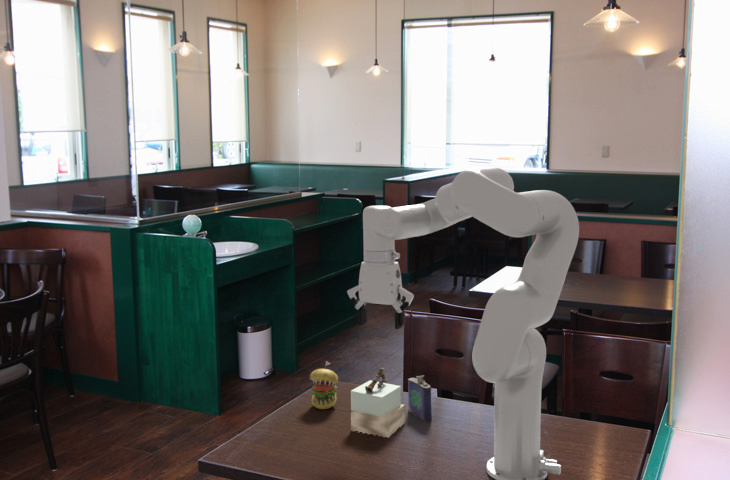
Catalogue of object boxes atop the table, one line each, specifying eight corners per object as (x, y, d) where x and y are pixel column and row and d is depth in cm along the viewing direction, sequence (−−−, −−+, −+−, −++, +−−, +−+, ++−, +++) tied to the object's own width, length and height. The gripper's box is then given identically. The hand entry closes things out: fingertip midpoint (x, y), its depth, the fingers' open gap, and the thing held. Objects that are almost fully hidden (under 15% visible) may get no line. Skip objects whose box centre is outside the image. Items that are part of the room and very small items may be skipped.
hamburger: (306, 409, 185) (304, 366, 183) (315, 400, 192) (314, 358, 190) (333, 412, 182) (332, 368, 181) (342, 402, 189) (341, 360, 188)
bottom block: (404, 423, 175) (404, 404, 174) (388, 438, 166) (388, 418, 166) (369, 417, 179) (368, 398, 179) (351, 431, 171) (350, 412, 170)
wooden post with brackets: (390, 379, 175) (386, 365, 173) (375, 401, 169) (370, 387, 167) (384, 378, 176) (380, 364, 174) (369, 400, 170) (364, 386, 168)
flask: (406, 411, 183) (406, 371, 181) (415, 408, 184) (415, 369, 183) (425, 423, 175) (425, 381, 173) (435, 420, 176) (435, 379, 175)
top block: (401, 405, 174) (400, 386, 173) (382, 417, 166) (382, 397, 166) (370, 398, 179) (370, 380, 178) (351, 410, 171) (350, 390, 171)
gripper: (418, 256, 168) (419, 325, 170) (353, 253, 175) (355, 319, 177) (406, 261, 161) (407, 333, 163) (340, 257, 168) (342, 326, 171)
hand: (380, 325), depth 170 cm, fingers open, 9 cm apart
